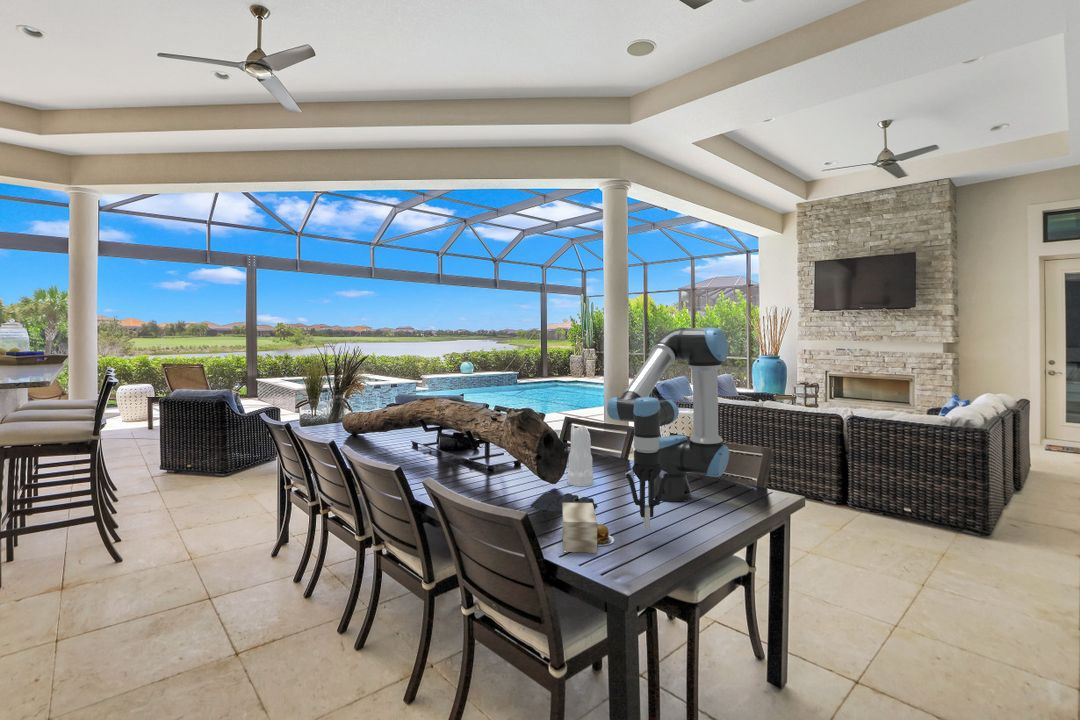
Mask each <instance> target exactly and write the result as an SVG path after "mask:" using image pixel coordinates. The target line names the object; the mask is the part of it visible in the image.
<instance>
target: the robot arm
mask: <svg viewBox="0 0 1080 720" xmlns="http://www.w3.org/2000/svg"><path fill="white" fill-rule="evenodd" d="M650 348H651V349H650V351H649V356H648V357H647V358H646V360H645V362H644V363H643V364H642V366H641V367H640V369H639V370H638V372H637V373H636V374H635V376H634V377H633V379H632V380H631V381H630V383H629V385H628V386H627V387H626V389H625V390H624V392H623V393H622V395H621V396H620V397H619V396H615V397H614V396H613V397H611V398H610V399H609V400H608V402H607V406H606V411H607V414H608V417H609V418H610V419H612V420H616V421H620V422H629V423H630V422H631V423H633V448H634V450H633V465H632V467H631V470H629V471H625V472H624V475H625V477H626V479H627V480H628V484H629V489H630V492H631V496H632V500H633V503H634V505H635V506H639V516H640V517H641V518H643V528H644V530H651V518H654V508H655V507H656V506H659V505H660V504H661V501H663V500H666V501H665V502H671V501H681V502H685V501H684V500H687V501H689V500H691V499H692V489H691V487H690V483H689V480H688V478H687V477H688V476H687V475H688V473H690V474H696V475H700V476H701V475H702V476H707V477H716V478H718V477H721V476H722V475H723V474H724V472H725V471H726V468H727V466H728V464H729V459H730V449H729V447H728V446H727V445H725V444H724V440H723V438H722V437H721V436H720V435H719V390H718V389H719V388H718V387H719V385H718V384H719V383H718V379H719V378H718V377H719V376H718V375H719V374H718V372H719V371H718V370H719V368H721V367H722V365H723V362H724V361H725V360H726V359H727V357H728V353H729V346H728V340H727V337H726V335H725V333H724V332H723V330H722V329H720V328H717V327H709V326H708V327H707V326H706V327H687V328H685V327H680V328H676V329H673V330H670V331H669V332H667V333H665V334H664V335H662V337H660V338H658V340H657V341H656V342H655V343H654V344H653V345H652V347H650ZM678 360H686V361H687V365H688V367H689V368H690V369H691V370H692V402H693V403H692V404H693V406H692V408H693V410H692V411H693V413H692V414H693V418H692V419H693V434H692V435H691V436H690V437H689V440H688V437H687V436H686V435H681V434H680V435H679V434H678V435H677V434H676V435H667V436H661V437H660V432H661V431H660V430H661V429H660V428H661V427H662V426H663V427H664V426H666V425H667V426H668V425H670V424H672V423H674V422H675V421H676V420H677V419H678V417H679V413H680V412H679V411H680V410H679V407H678V405H677V404H676V403H675V402H674V401H673V400H670V399H661V400H659V399H658V398H657V397H652V396H651V397H649V396H650V395H651V393H652V391H653V390H654V389H655V388H656V386H657V384H658V383H659V381H660V379H661V378H662V376H663V375H664V373H665V372H666V370H667V369H668V367H670V366H671V365H673V364H674V363H675V361H678ZM635 475H636V477H637V478H638V480H639V481H638V482H639V497H638V493H637V490H636V485H635V482H634V477H635ZM646 482H647V486H648V487H647V488H648V490H647V493H648V495H647V499H648V500H647V504H646ZM690 498H691V499H690ZM688 499H689V500H688Z"/></svg>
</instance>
